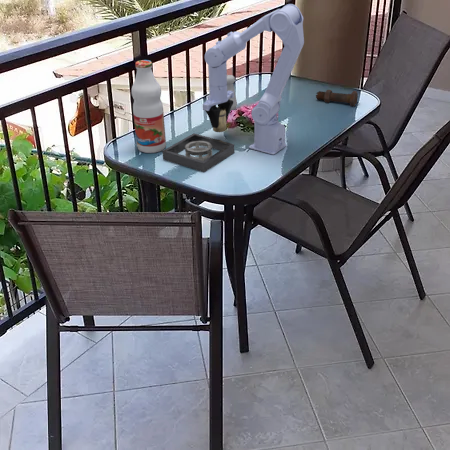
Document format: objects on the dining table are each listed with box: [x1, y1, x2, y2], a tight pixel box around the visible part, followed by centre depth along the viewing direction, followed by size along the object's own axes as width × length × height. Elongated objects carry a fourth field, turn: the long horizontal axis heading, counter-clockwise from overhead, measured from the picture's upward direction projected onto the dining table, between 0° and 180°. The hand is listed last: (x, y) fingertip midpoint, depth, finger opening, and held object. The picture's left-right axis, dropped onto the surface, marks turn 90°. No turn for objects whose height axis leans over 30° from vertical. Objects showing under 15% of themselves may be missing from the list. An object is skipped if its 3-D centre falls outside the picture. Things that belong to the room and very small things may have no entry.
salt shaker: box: [227, 74, 238, 111], centre depth 214 cm, size 6×6×13 cm
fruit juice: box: [131, 59, 167, 154], centre depth 184 cm, size 9×9×28 cm
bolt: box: [315, 89, 359, 107], centre depth 221 cm, size 6×5×15 cm
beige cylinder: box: [212, 106, 227, 133], centre depth 192 cm, size 5×5×7 cm
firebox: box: [161, 133, 235, 173], centre depth 185 cm, size 16×16×3 cm
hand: (219, 124), depth 193 cm, fingers closed on beige cylinder, 4 cm apart
